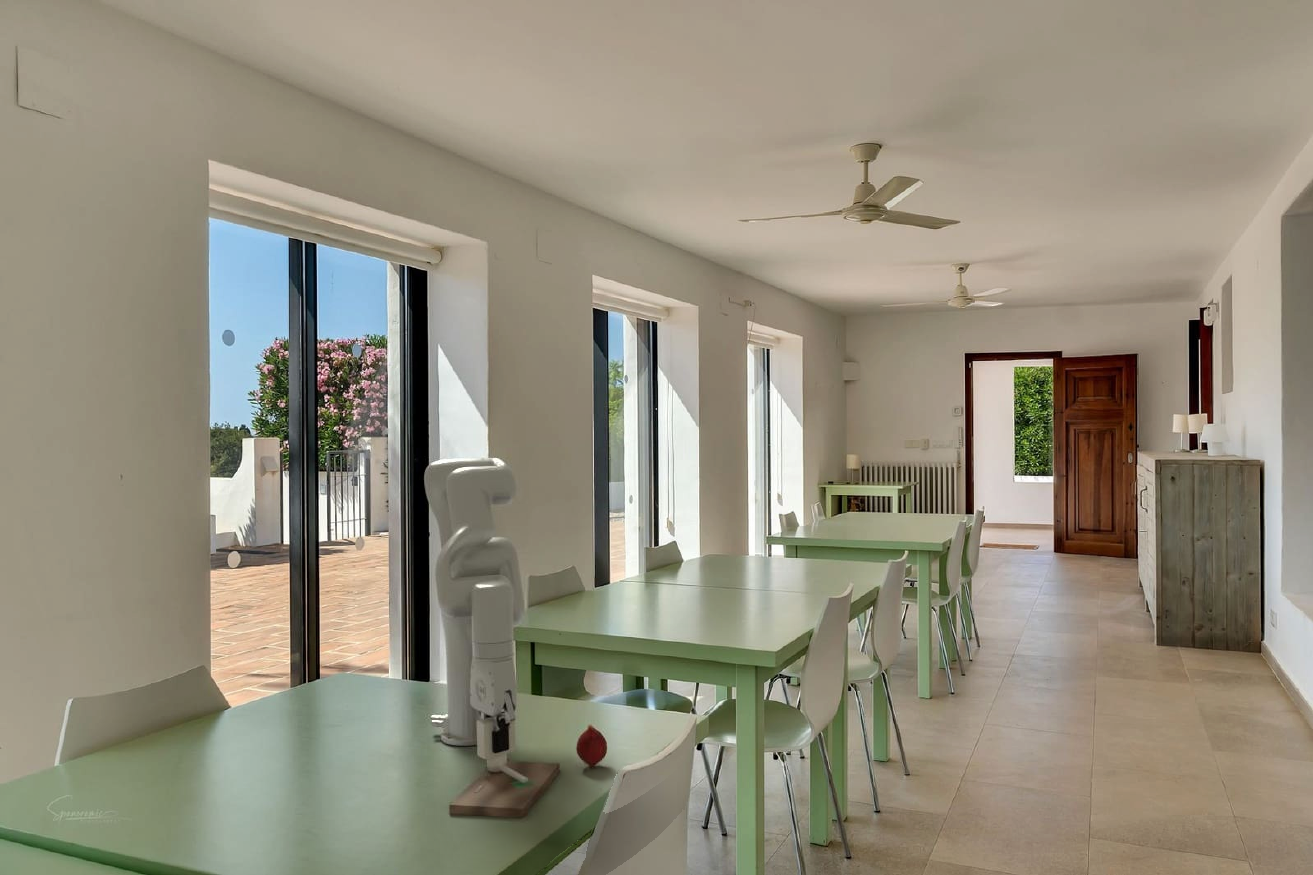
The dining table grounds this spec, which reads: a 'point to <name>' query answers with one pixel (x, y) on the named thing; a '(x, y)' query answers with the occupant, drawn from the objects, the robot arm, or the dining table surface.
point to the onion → (591, 746)
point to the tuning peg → (484, 748)
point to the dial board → (505, 790)
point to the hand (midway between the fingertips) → (495, 747)
